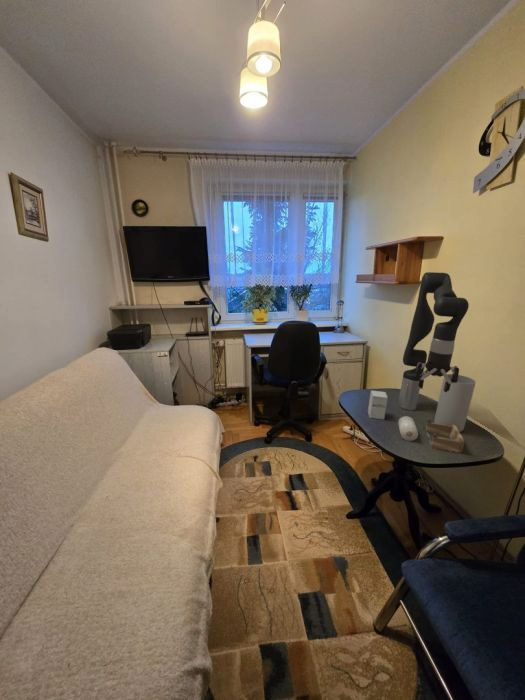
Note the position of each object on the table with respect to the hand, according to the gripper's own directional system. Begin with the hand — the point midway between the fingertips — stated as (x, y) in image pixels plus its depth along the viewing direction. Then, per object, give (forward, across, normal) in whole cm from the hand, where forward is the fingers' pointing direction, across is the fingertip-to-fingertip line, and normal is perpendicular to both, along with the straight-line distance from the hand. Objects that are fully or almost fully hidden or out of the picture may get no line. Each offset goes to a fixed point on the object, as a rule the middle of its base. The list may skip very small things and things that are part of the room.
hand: (432, 389), depth 112 cm
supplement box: (+29, +16, -26) cm, 42 cm away
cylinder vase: (+29, -18, -29) cm, 44 cm away
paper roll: (+25, +4, -12) cm, 28 cm away
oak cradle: (+28, -11, -12) cm, 33 cm away
